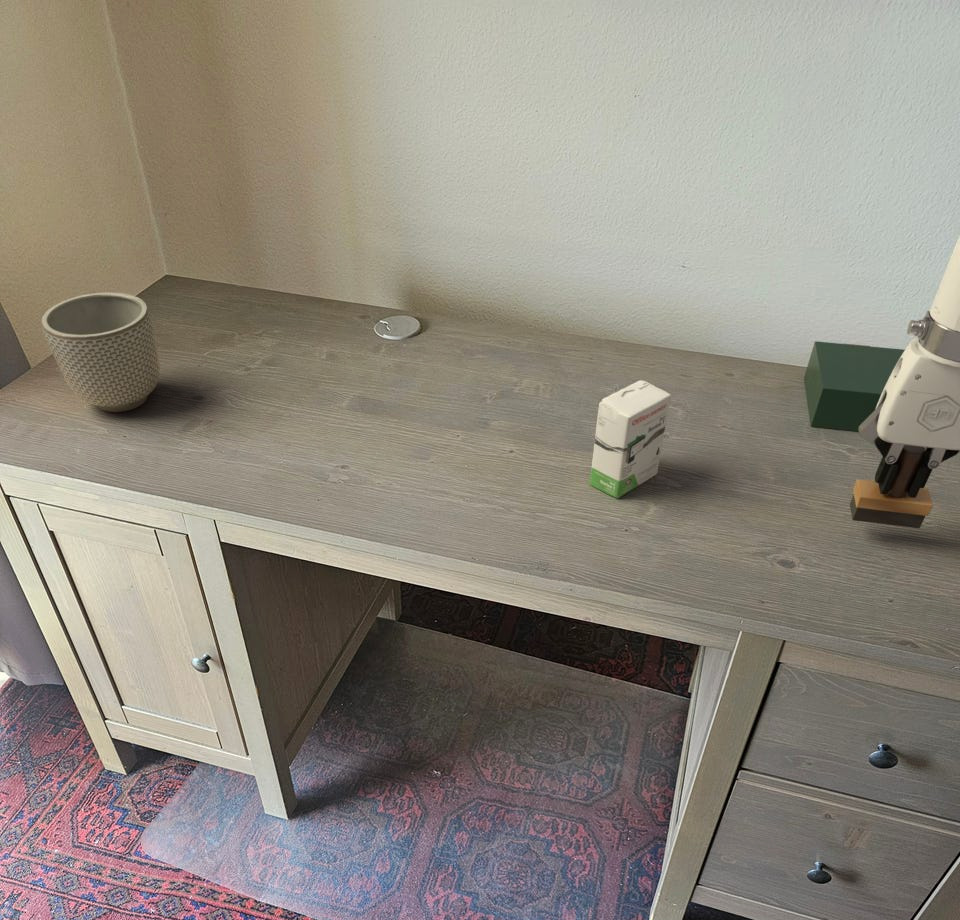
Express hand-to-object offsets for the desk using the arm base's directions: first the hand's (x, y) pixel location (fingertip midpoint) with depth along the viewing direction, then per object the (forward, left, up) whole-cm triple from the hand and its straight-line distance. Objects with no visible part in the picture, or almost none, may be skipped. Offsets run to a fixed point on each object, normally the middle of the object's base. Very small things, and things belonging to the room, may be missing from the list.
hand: (896, 488), depth 99 cm
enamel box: (-1, -31, -7) cm, 32 cm away
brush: (0, 0, -4) cm, 4 cm away
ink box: (+31, -6, -7) cm, 32 cm away
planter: (+104, -11, -7) cm, 105 cm away
